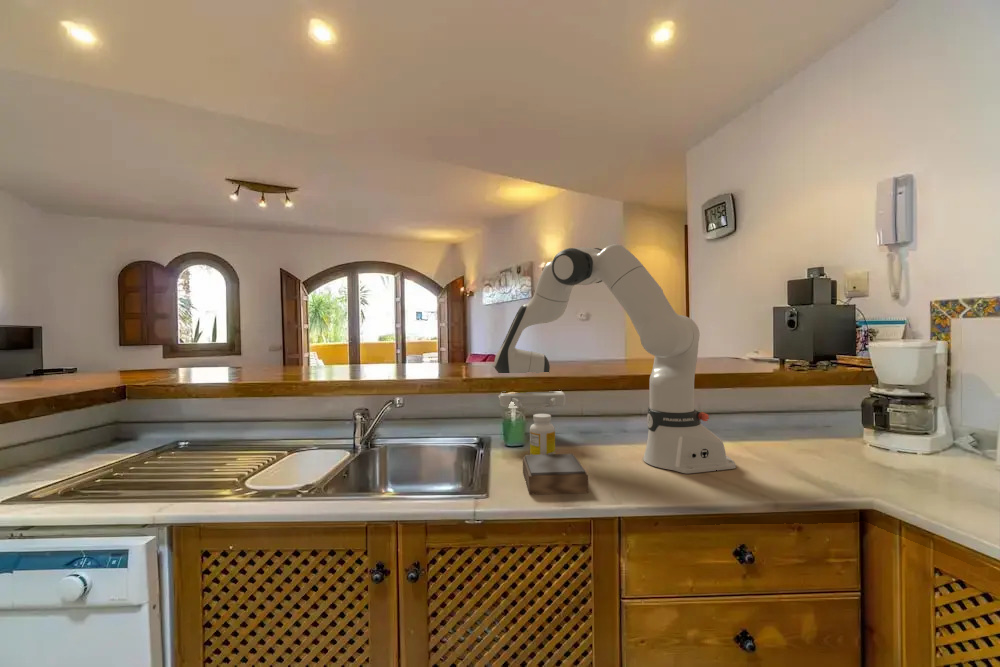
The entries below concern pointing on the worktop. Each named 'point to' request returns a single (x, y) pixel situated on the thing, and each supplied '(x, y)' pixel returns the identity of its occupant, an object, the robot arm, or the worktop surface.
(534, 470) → the block
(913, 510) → the worktop surface
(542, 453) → the supplement bottle
